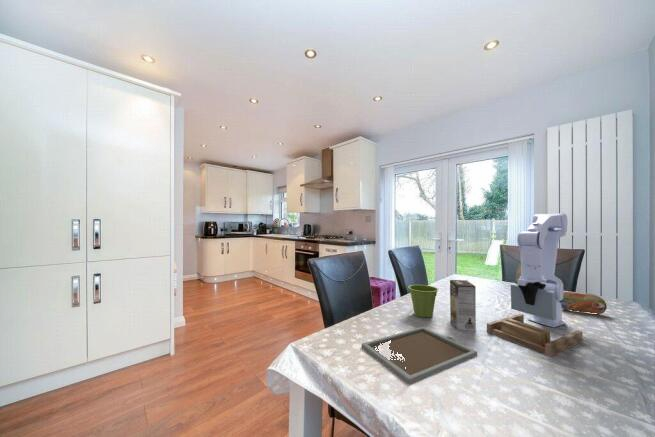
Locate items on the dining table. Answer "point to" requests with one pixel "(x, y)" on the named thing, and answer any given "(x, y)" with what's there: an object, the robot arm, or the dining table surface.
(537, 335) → the offcut
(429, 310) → the plant pot
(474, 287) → the coffee box
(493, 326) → the rack
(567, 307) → the tin
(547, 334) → the offcut
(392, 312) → the dining table surface
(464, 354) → the picture frame
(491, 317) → the dining table surface
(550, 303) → the blue grey rectangular slab
